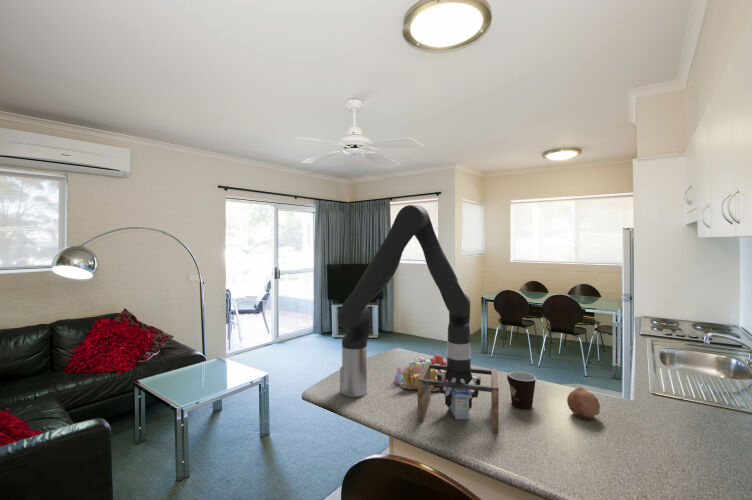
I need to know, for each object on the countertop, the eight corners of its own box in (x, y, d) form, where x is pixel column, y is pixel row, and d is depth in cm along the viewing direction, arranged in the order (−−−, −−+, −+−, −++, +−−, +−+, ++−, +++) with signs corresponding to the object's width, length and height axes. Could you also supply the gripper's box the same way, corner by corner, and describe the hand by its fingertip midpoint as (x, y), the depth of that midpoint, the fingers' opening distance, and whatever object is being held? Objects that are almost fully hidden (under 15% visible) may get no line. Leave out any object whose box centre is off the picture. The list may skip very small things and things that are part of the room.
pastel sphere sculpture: (460, 394, 130) (460, 369, 130) (396, 393, 130) (396, 368, 130) (447, 370, 155) (447, 349, 155) (393, 370, 155) (393, 349, 155)
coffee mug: (538, 412, 115) (538, 382, 115) (510, 410, 116) (510, 380, 116) (530, 397, 126) (530, 369, 126) (505, 395, 128) (505, 368, 128)
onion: (576, 419, 116) (571, 388, 120) (606, 421, 110) (601, 389, 114) (564, 417, 111) (560, 385, 115) (596, 419, 104) (590, 385, 109)
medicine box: (448, 408, 117) (448, 382, 117) (461, 408, 118) (461, 382, 118) (455, 420, 110) (455, 392, 110) (469, 419, 110) (469, 391, 110)
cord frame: (417, 421, 109) (417, 379, 109) (426, 398, 125) (426, 362, 125) (498, 432, 102) (498, 388, 102) (496, 407, 118) (496, 368, 118)
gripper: (434, 356, 112) (434, 409, 112) (481, 361, 108) (481, 416, 108) (437, 350, 119) (437, 400, 119) (482, 354, 115) (481, 405, 115)
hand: (458, 407), depth 114 cm, fingers closed on medicine box, 5 cm apart
